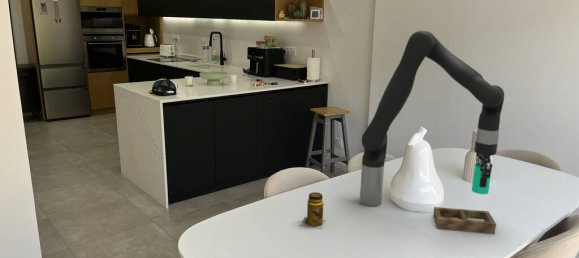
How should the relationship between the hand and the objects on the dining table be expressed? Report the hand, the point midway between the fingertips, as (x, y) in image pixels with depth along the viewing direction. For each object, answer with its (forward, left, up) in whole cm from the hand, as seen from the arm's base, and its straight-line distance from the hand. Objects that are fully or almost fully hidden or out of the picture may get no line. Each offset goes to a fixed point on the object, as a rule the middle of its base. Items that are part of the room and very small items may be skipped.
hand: (480, 184), depth 165 cm
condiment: (-62, -10, -17) cm, 65 cm away
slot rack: (-5, 0, -17) cm, 18 cm away
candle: (0, 0, -3) cm, 3 cm away
